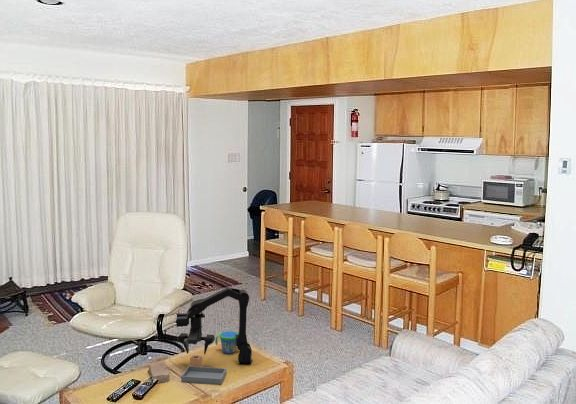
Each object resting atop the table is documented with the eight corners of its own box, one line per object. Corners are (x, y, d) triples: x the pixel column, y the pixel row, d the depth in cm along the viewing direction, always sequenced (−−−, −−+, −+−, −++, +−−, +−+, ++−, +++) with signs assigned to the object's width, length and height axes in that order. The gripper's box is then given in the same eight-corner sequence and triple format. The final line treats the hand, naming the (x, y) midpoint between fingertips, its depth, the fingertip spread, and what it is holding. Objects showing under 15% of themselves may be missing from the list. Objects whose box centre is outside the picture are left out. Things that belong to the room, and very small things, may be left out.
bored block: (202, 364, 279) (202, 355, 279) (199, 368, 274) (199, 359, 274) (192, 363, 280) (192, 354, 279) (190, 367, 275) (190, 358, 274)
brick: (170, 382, 259) (170, 373, 258) (152, 384, 256) (152, 375, 255) (164, 368, 274) (164, 360, 274) (148, 371, 271) (148, 362, 270)
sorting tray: (226, 374, 268) (226, 368, 268) (220, 384, 256) (220, 379, 256) (188, 371, 270) (188, 365, 270) (181, 382, 259) (181, 376, 258)
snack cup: (245, 349, 299) (245, 332, 298) (238, 357, 289) (238, 339, 288) (220, 346, 304) (220, 329, 302) (212, 353, 293) (212, 335, 292)
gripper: (173, 330, 267) (174, 359, 269) (209, 332, 265) (209, 361, 267) (180, 322, 278) (181, 350, 280) (214, 324, 276) (215, 352, 278)
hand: (196, 353), depth 276 cm, fingers open, 9 cm apart
